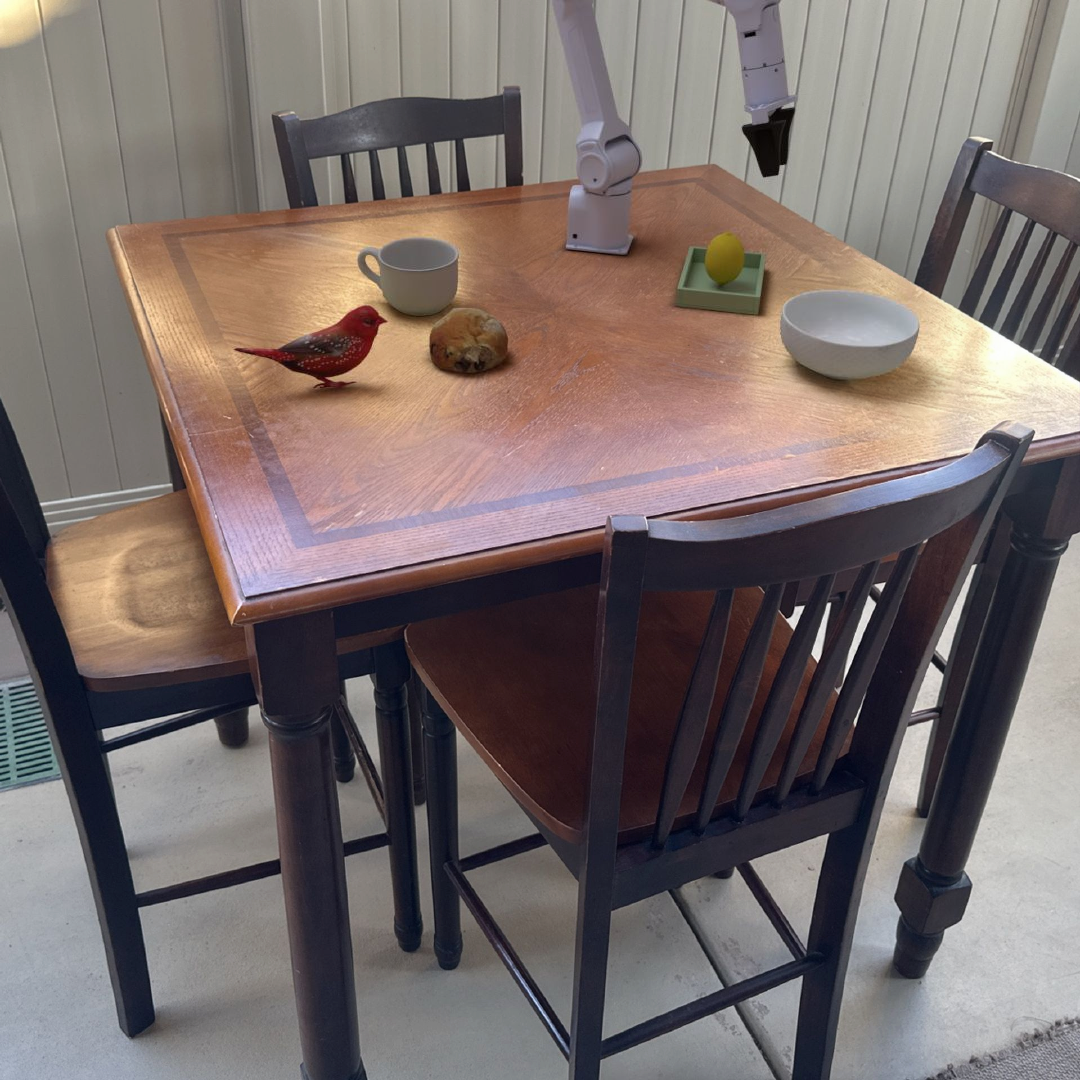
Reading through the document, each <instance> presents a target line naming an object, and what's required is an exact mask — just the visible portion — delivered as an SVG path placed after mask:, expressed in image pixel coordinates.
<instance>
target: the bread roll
mask: <svg viewBox="0 0 1080 1080" xmlns="http://www.w3.org/2000/svg"><path fill="white" fill-rule="evenodd" d="M428 339H429V340H428V341H429V344H428V345H429V355H430V359H431V361H432V362H433V363H434V364H435V365H436V366H437V367H438V368H439V369H441V370H444V371H447V372H453V373H458V374H465V373H466V374H476V373H481V372H485V371H488V370H491V369H493V368H495V367H498V366H499V365H501V364H502V363H503V361H504V360H505V359H506V358H507V355H508V345H509V337H508V332H507V330H506V328H505V326H504V325H503V323H501V322H500V321H499V320H498V319H497V318H496V317H495V316H494V315H492V314H490V313H488V312H486V311H484V310H482V309H479V308H474V307H454V308H452V309H451V310H450V311H449V312H448V313H447V314H445V315H444V316H443V317H442V318H441V319H440V320H439V321H437V322H435V324H433V325H432V328H431V330H430V333H429V338H428Z"/></svg>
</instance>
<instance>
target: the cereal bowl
mask: <svg viewBox="0 0 1080 1080" xmlns="http://www.w3.org/2000/svg"><path fill="white" fill-rule="evenodd" d="M779 322H780V323H779V330H780V331H779V332H780V333H779V334H780V338H781V342H782V344H783V345H784V349H785V350H786V352H787V353H788V354H789V355H790V356H791V357H792V358H793V359H794V361H797V363H799V364H801V365H802V366H804V367H806V368H808V369H809V370H812V371H814V372H816V373H817V374H819V375H821V376H824V377H826V378H830V379H834V380H837V381H858V380H859V381H860V380H863V379H867V378H868V379H869V378H875V377H878V376H882V375H884V374H885V375H886V374H889V373H891V372H892V371H895V370H896V369H897V368H899V367H901V365H903V364H904V363H905V362H906V361H907V360H908V359H909V357H910V356H911V354H912V353H913V351H914V349H915V346H916V344H917V340H918V338H919V333H920V320H919V318H918V317H917V315H916V314H915V313H914V311H912V310H911V309H910V308H908V307H907V306H905V305H903V304H901V303H900V302H897V301H895V300H893V299H890V298H887V297H885V296H882V295H878V294H874V293H869V292H863V291H857V290H849V289H848V290H847V289H820V290H812V291H807V292H803V293H800V294H798V295H795V296H793V297H791V298H789V299H788V300H787V301H786V302H785V303H784V304H783V306H782V310H781V313H780V321H779Z"/></svg>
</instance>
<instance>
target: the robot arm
mask: <svg viewBox="0 0 1080 1080" xmlns="http://www.w3.org/2000/svg"><path fill="white" fill-rule="evenodd" d="M707 1H709V2H712V3H714V4H717V5H720V6H722V7H725V8H726V10H727V11H728V13H729V14H730V15H731V16H732V17H733V19H734V24H735V29H736V37H737V45H738V53H739V62H740V69H741V79H742V88H743V95H744V103H745V104H744V105H743V107H744V112H746V113H748V114H750V115H751V116H750V117H751V123H745V124H743V125H742V126H741V131H742V133H743V135H744V136H745V138H746V140H747V141H748V143H749V145H750V146H751V148H752V151H753V154H754V156H755V159H756V162H757V166H758V168H759V171H760V174H761V176H762V178H770V177H771V178H772V177H776V176H779V175H780V168H781V166H787V164H788V159H789V148H790V147H789V145H790V144H789V143H790V135H791V134H790V133H791V128H792V123H793V119H794V116H795V113H796V107H795V106H791V107H786V108H785V107H784V106H787V105H789V104H790V103H794V102H797V101H798V100H799V94H791V95H789V86H788V78H787V77H788V76H787V69H786V58H785V48H784V38H783V29H782V23H781V12H780V3H781V1H782V0H707ZM551 3H552V8H553V12H554V17H555V20H556V21H555V22H556V24H557V28H558V32H559V36H560V42H561V45H562V48H563V53H564V57H565V61H566V66H567V70H568V73H569V77H570V82H571V86H572V90H573V95H574V97H575V98H574V99H575V102H576V107H577V110H578V114H579V118H580V122H581V131H580V133H579V135H578V138H577V140H576V142H575V149H576V154H577V161H576V166H575V167H576V168H575V169H576V175H577V178H578V181H579V182H580V184H574V185H572V186H571V189H570V191H569V193H570V194H569V198H568V208H567V225H566V226H567V230H566V244H565V249H566V250H574V251H581V252H582V251H583V252H593V253H601V254H602V253H603V254H611V255H621V256H625V255H627V254H628V251H629V249H630V247H631V244H632V242H633V240H634V236H633V235H632V234H629V231H630V218H631V203H632V190H633V186H634V185H633V184H634V177H636V176H637V175H638V173H639V172H640V170H642V169H641V168H642V165H643V155H642V154H643V153H642V150H641V148H640V146H639V145H638V144H637V142H636V140H635V139H634V137H633V134H632V131H631V128H630V125H628V124H627V123H626V122H625V121H624V120H622V118H621V117H619V114H618V113H619V112H618V110H617V109H618V108H617V105H616V100H615V97H614V96H615V95H614V92H613V88H612V83H611V79H610V75H609V72H608V66H607V62H606V58H605V53H604V49H603V45H602V41H601V37H600V32H599V28H598V24H597V19H596V15H595V11H594V5H593V4H594V3H595V0H551Z"/></svg>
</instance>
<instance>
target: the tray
mask: <svg viewBox="0 0 1080 1080" xmlns="http://www.w3.org/2000/svg"><path fill="white" fill-rule="evenodd" d="M707 249H708V247H704V246H694V245H693V246H692V245H689V248H688V251H687V254H686V258H685V261H684V263H683V268H682V271H681V274H680V278H679V280H678V281H679V282H678V285H677V288H676V295H675V296H676V297H675V307H681V308H690V309H697V310H698V309H699V310H708V311H717V312H718V311H719V312H726V313H727V312H728V313H737V314H746V315H755V316H758V314H759V309H760V303H761V295H762V289H763V288H762V287H763V279H764V274H765V273H764V272H765V265H766V258H767V253H764V252H753V251H746V250H744V265H743V268H742V271H741V273H740V274H739V276H738V277H737V278H736V279H735V280H733V281H732V282H729V283H726V284H725V285H724V286H719V285H718V283H717V282H715V281H713V280H712V279H711V278H710V277H709V276H708V274H707V271H706V268H705V256H706V252H707Z"/></svg>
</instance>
